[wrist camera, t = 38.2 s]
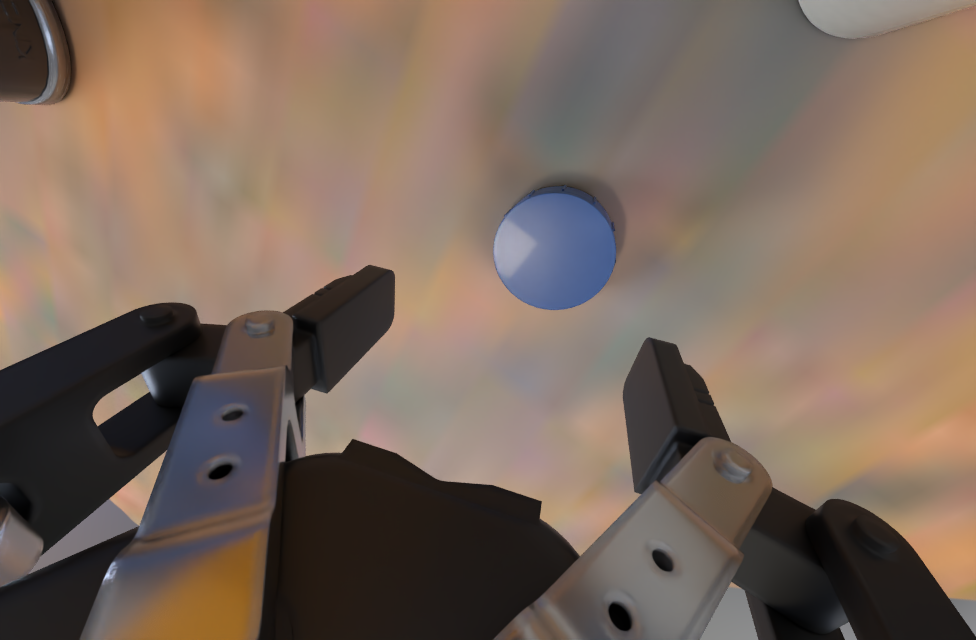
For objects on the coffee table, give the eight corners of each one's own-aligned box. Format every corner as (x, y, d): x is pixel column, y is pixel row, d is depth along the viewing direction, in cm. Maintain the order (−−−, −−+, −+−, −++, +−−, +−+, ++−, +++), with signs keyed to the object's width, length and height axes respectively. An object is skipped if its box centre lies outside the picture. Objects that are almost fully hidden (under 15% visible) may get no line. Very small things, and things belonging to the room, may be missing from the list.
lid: (582, 310, 20) (580, 327, 18) (488, 270, 20) (478, 283, 19) (637, 213, 17) (641, 222, 15) (524, 167, 17) (517, 172, 15)
